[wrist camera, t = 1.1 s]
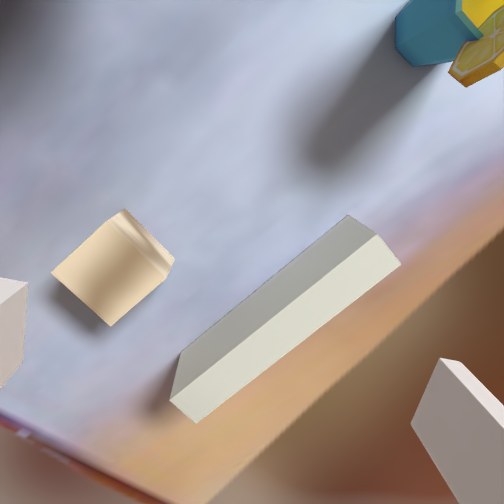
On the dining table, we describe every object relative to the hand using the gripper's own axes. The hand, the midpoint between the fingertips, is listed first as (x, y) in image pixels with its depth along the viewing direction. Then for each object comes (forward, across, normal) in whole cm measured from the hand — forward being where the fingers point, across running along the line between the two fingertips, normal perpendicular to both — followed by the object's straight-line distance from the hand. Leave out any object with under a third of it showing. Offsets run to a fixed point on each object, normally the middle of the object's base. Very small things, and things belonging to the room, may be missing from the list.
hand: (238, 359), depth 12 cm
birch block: (+22, -8, -6) cm, 24 cm away
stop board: (+22, +5, -7) cm, 23 cm away
